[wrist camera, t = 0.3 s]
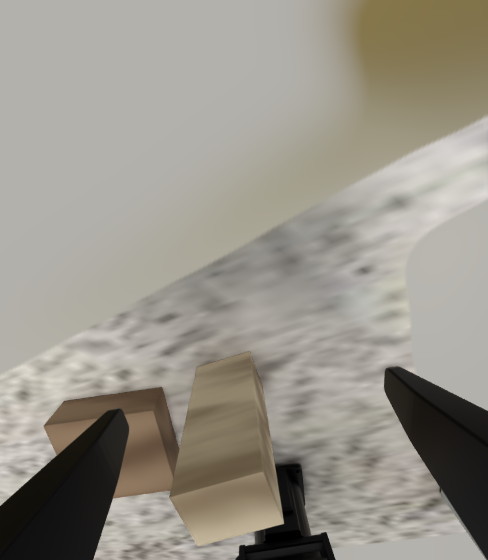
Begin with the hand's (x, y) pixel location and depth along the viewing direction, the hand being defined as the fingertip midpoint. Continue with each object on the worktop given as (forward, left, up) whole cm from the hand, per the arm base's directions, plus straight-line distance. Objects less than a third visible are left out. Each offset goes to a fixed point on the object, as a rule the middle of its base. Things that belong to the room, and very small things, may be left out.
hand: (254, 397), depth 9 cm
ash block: (-11, +3, -15) cm, 19 cm away
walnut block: (-16, +15, -16) cm, 27 cm away
